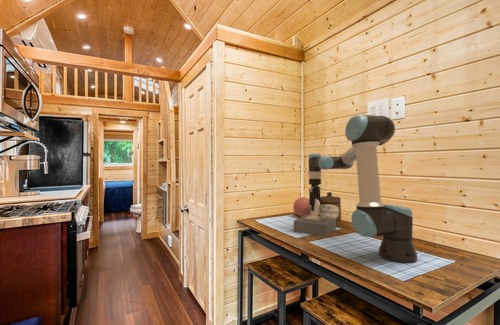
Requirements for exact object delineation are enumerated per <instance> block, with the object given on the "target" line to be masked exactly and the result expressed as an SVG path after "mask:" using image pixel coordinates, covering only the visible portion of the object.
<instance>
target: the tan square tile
mask: <svg viewBox="0 0 500 325" xmlns="http://www.w3.org/2000/svg"><path fill="white" fill-rule="evenodd" d="M325 219H326V217H320V216H319V215H317V216H311V214H310V216H308V217H306V218H304V220H308V221H316V222H322V221H324V220H325Z"/></svg>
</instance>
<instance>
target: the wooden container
mask: <svg viewBox="0 0 500 325" xmlns="http://www.w3.org/2000/svg"><path fill="white" fill-rule="evenodd" d="M320 200H321V204H320V206H319V214H318V216H321V217H330V218H336V227H338V226H340V225H342V208H341V207H342V205H341V204H342V203H341V197H339V196H333V193H332V192H331V191H328V192H326V195H325V196H320Z"/></svg>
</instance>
